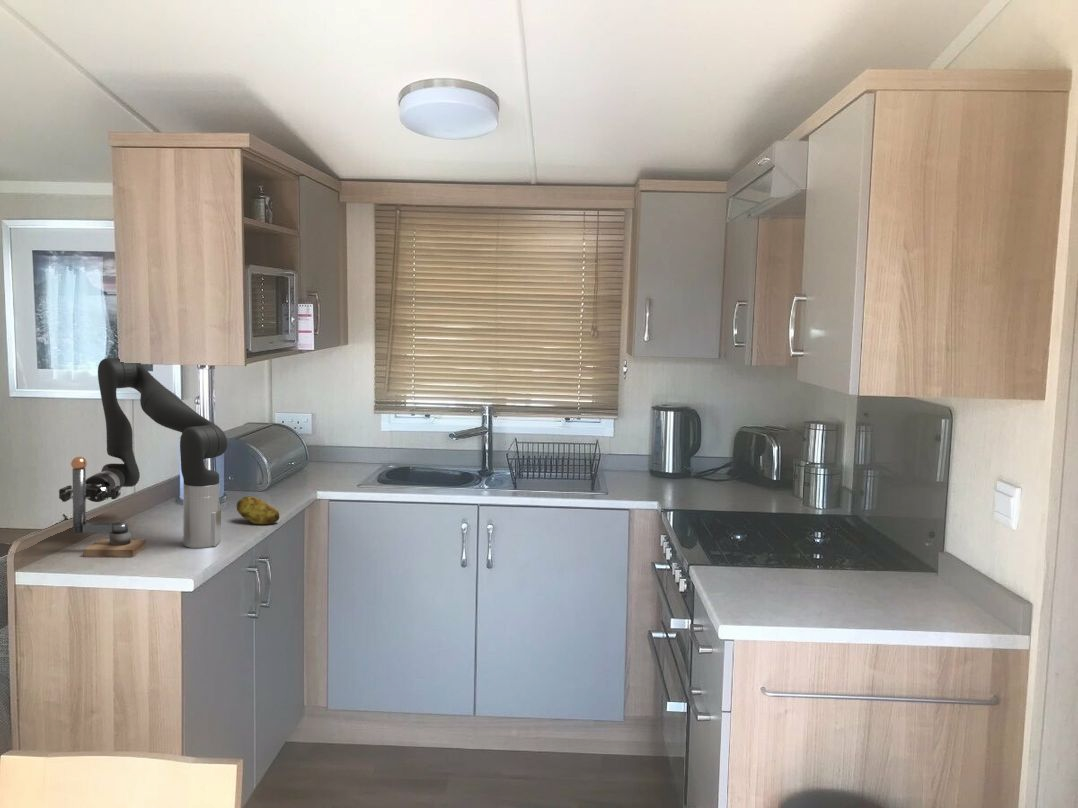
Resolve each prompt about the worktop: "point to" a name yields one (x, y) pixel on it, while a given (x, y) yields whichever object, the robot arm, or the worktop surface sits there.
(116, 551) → the cracker base
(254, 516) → the potato
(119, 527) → the lever
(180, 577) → the worktop surface
